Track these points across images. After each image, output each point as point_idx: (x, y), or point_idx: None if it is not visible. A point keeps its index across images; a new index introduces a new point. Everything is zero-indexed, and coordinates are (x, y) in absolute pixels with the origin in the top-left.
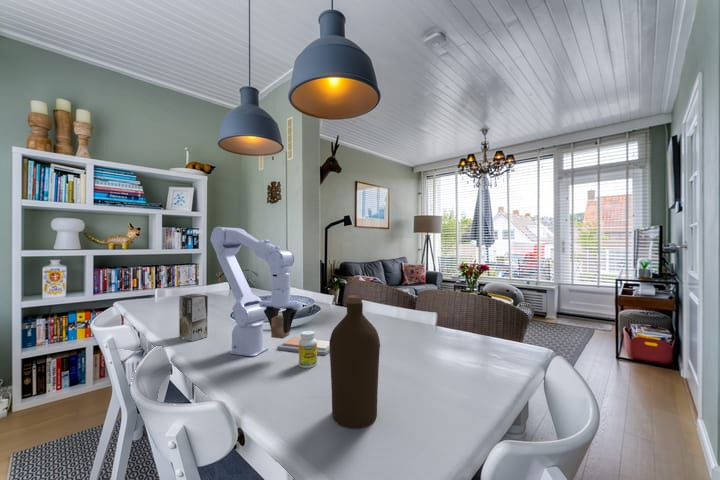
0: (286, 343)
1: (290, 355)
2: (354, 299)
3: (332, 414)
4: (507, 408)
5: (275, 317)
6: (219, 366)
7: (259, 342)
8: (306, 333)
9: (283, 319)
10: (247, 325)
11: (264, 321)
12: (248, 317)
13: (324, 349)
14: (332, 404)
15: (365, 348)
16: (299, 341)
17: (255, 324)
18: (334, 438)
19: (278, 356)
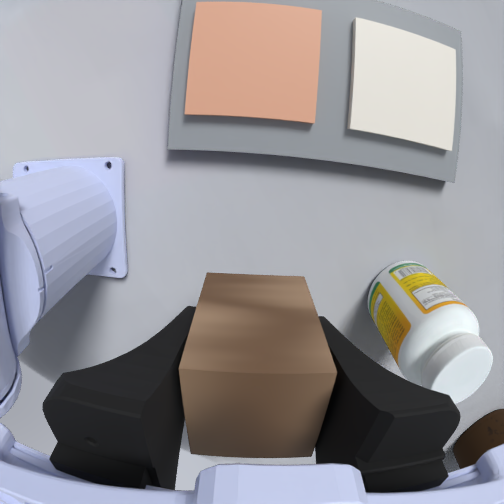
0: (207, 111)
1: (285, 211)
2: None
3: (454, 454)
4: None
5: (212, 439)
6: (88, 364)
7: (96, 244)
8: (456, 392)
9: (312, 447)
10: (19, 351)
11: (11, 199)
12: (10, 405)
13: (443, 149)
14: (459, 466)
15: None
16: (406, 374)
17: (26, 310)
18: (448, 468)
19: (231, 237)
